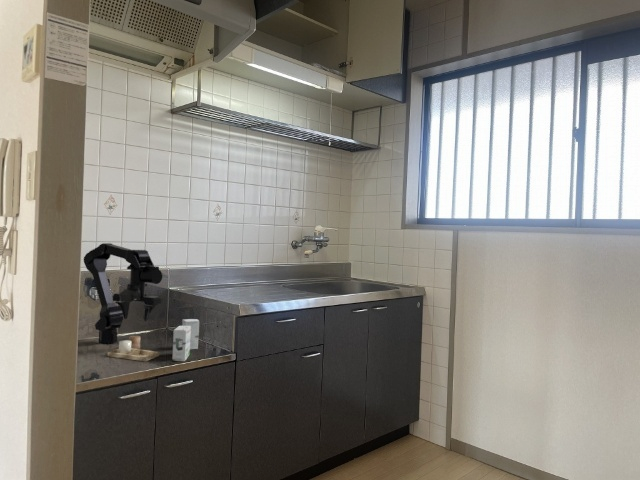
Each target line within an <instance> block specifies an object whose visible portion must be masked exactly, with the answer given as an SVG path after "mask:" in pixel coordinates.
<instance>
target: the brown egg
mask: <svg viewBox="0 0 640 480" xmlns="http://www.w3.org/2000/svg"><path fill="white" fill-rule="evenodd" d="M128 340H130V341H132V342H131V348H132V349H141V336H140V335H131V336H128Z"/></svg>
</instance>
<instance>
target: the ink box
mask: <svg viewBox="0 0 640 480" xmlns="http://www.w3.org/2000/svg"><path fill="white" fill-rule="evenodd" d="M190 335H191V326H182V325H179V326H177V327H176V328H175V329H173V338H172V339H173V341H172V342H173V343H172V358H171V360H172V361H174V362H185V361H186V360H187V359H188V358H189V356H190V354H191V349H190Z"/></svg>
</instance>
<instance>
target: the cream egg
mask: <svg viewBox="0 0 640 480" xmlns="http://www.w3.org/2000/svg"><path fill="white" fill-rule="evenodd" d="M118 341H119V342H118V349H119V353H121V354H129V353H131V342H132V341H130V340H129V339H125V340H124V339H123V340H118Z"/></svg>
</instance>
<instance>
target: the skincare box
mask: <svg viewBox="0 0 640 480" xmlns="http://www.w3.org/2000/svg"><path fill="white" fill-rule="evenodd" d="M181 322H182V324H181V326H191V335H190V350H195V349H196V350H198V349H199V334H200V320H199V319H196V318H187V319H185V318H183V319H182V321H181Z"/></svg>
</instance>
